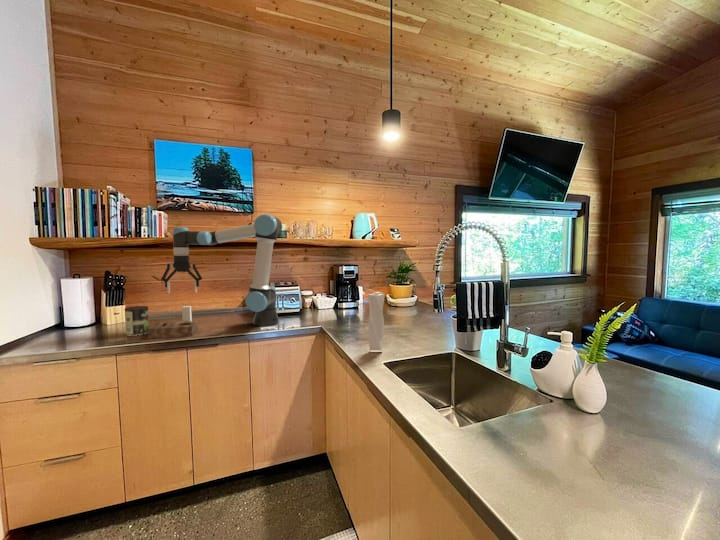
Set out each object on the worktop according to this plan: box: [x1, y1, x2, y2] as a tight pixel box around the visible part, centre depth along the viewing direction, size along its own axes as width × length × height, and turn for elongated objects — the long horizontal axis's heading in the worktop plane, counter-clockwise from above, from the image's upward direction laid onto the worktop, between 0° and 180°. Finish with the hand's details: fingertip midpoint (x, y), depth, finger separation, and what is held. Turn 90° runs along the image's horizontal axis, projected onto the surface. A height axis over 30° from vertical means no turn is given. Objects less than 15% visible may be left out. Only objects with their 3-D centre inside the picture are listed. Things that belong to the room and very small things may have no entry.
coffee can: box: [124, 305, 150, 337], centre depth 170 cm, size 10×10×14 cm
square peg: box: [181, 305, 193, 322], centre depth 185 cm, size 4×4×12 cm
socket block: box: [147, 320, 199, 340], centre depth 170 cm, size 20×14×5 cm
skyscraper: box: [366, 288, 386, 351], centre depth 142 cm, size 8×8×28 cm
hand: (182, 292), depth 180 cm, fingers open, 13 cm apart
